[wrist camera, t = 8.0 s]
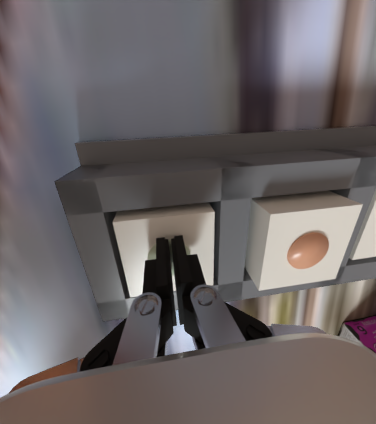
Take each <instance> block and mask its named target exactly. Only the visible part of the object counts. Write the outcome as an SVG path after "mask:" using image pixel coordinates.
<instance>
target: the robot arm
mask: <svg viewBox="0 0 376 424" xmlns="http://www.w3.org/2000/svg"><path fill="white" fill-rule="evenodd" d="M171 245H172V255H173V266H174V276H175V285H176V294H177V303H178V312H179V320H180V325H182V324H184V329H185V332H187V333H188V334H190V335H191V336H192V338H193V343H194V346H195V349H196V350H194V351H188V352H182V353H177V354H171V355H167V341H168V339H169V338H170V337H171V336H172V334H173V326H176V325H177V323H176V312H175V302H174V292H173V281H172V271H171V261H170V251H169V242H168V239H165V237H162V238H156V259H152V260H145V267H144V280H143V292H142V294H141V295H139V296H138V297H136V298H135V299H134V300H133V302H132V304H131V307H130V310H129V313H128V317H126V318H125V319H124V320H123V321H122V322H121V323H120V324H119V325H118V326H117V327H116V328H114V329H113V330H112V331H111V332H110V333H109V334H108V335H107V336H106V337H105V338H104V339H103V340H101V341H100V342H99V343H98V344H97V345H96V346H95V347H94V348H93V349H92V350H91V351H90V352H89V353H88V354H87V355H86V356H85V357H84V358H82V359H80V360H79V358H75V359H73V360H70V361H68V362H65V363H63V364H60V365H58V366H55V367H52V368H50V369H47V370H45V371H42V372H40V373H37V374H35V375H32V376H30V377H28V378H26V379H24V380H22V381H20V382H19V383H18V384H17V385H16V386H15V387H13V389H12V390H11V391H10V392H9V394H7V395H5V396H3V397H1V398H0V424H376V353H374V352H373V351H372V350H370V349H369V348H367V347H366V346H364V345H362V344H360V343H358V342H356V341H353V340H350V339H347V338H344V337H340V336H335V335H330V334H326V333H325V332H324V331H323V330H321V329H319V328H316V327H312V326H297V325H282V324H271V326H266V325H265V324H264V323H262V322H261V321H259V320H257V319H255V318H253V317H251V316H250V315H248V314H246V313H244V312H242V311H240V310H238V309H237V308H235V307H233V306H231V305H229V304H227V303H225V302H224V301H223V299H222V297H221V295H220V294H219V292H218V291H217V289H216V288H214V287H213V286H210V285H206V282H205V279H204V275H203V272H202V269H201V265H200V262H199V259H198V255H197V254H192V255H187V253H186V249H185V244H184V240H183V235H179V236H174V238H173V239H171Z"/></svg>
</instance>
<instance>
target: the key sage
mask: <svg viewBox="0 0 376 424" xmlns="http://www.w3.org/2000/svg"><path fill="white" fill-rule="evenodd" d="M214 220H215V212H214V210H213V208H212V207H211V205H210V204H209V202H205V203H195V204H184V205H174V206H164V207H154V208H143V209H133V210H123V211H117V213H116V215H115V218H114V220H113V226H114V231H115V235H116V239H117V243H118V248H119V252H120V256H121V260H122V265H123V269H124V273H125V277H126V282H127V286H128V290H129V294H130V297H137V296H139V295H141V294H142V292H143V280H144V267H145V260H152V259H156V238H162V237H165V239H168V242H169V251H170V261H171V271H172V281H173V291H176V285H175V276H174V266H173V255H172V245H171V239H173V238H174V236H179V235H183V240H184V244H185V249H186V253H187V255H192V254H197V255H198V259H199V262H200V265H201V269H202V272H203V275H204V279H205V282H206V285H210V286H211V285H213V275H214Z"/></svg>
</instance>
